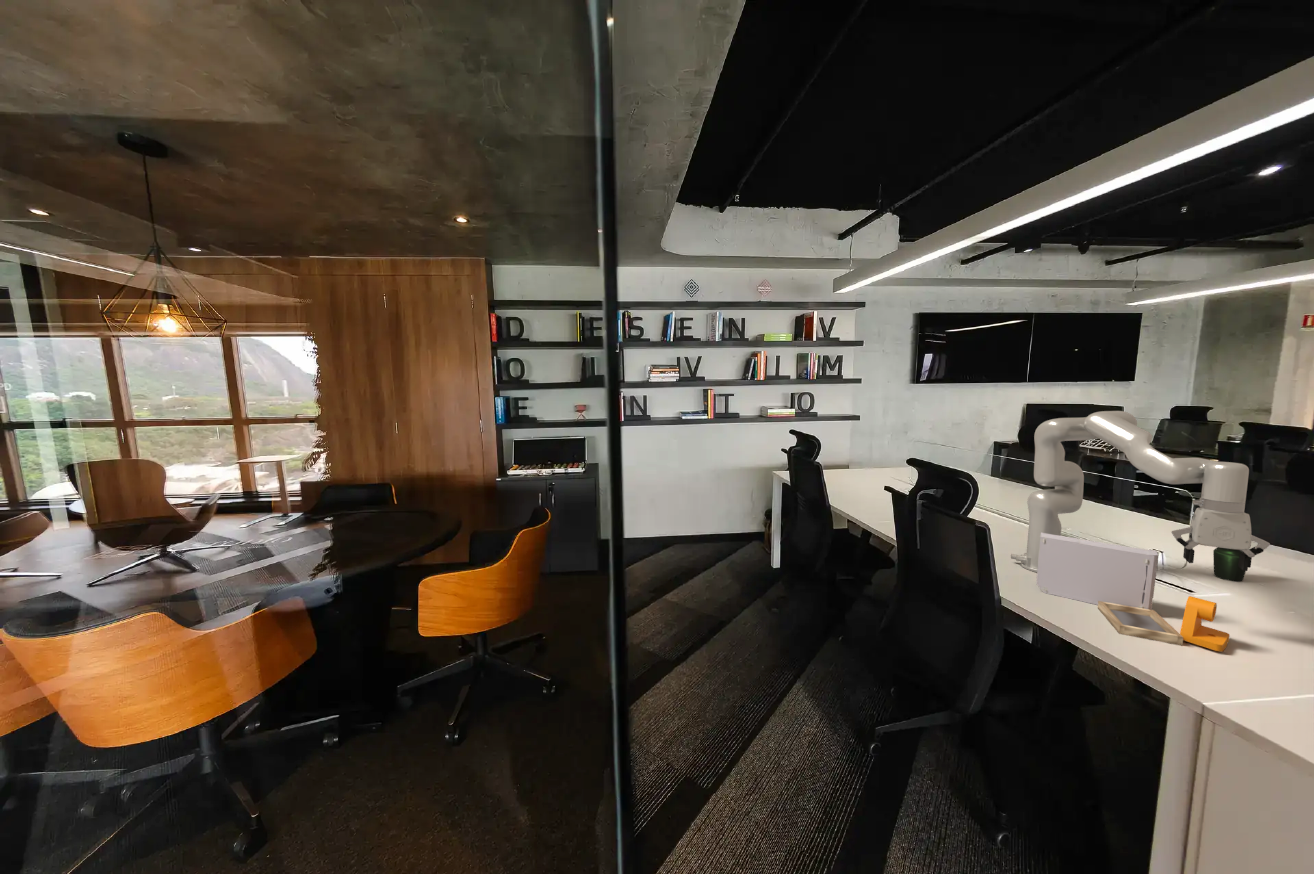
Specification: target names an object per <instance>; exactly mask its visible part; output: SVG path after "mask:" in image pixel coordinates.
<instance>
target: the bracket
mask: <svg viewBox="0 0 1314 874" xmlns="http://www.w3.org/2000/svg"><path fill="white" fill-rule="evenodd" d="M1217 604H1218V603H1217V602H1214V601H1210V600H1207V599H1203V598H1198V597H1194V596H1191V595H1189V596H1188V597H1187V599H1186V602H1185V607H1184V612H1183V617H1182V621H1181V627H1180V631H1179V634H1180V635H1181V636H1182V637H1183V642H1187V643H1191V644H1193V645H1197V646H1200V647H1204V648H1207V649H1209V650H1213V651H1215V652H1222V653H1223V652H1224V651H1225V650H1226V648H1227V647H1228V643H1229V641H1230V636H1231V635H1230V633H1228V632H1225V631H1222V630H1219V629H1215V628H1213V627H1208V626H1205V625H1203V624H1202V622H1203V621H1207V622H1211V623H1213V622H1214V621H1215V618H1216V613H1217V606H1218V605H1217Z"/></svg>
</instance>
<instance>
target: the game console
mask: <svg viewBox="0 0 1314 874" xmlns="http://www.w3.org/2000/svg"><path fill="white" fill-rule="evenodd" d="M1158 558H1159V554H1158V551H1157V550H1152V549H1145V548H1140V547H1139V548H1138V547H1132V546H1128V545H1120V544H1114V543H1108V542H1101V541H1094V540H1091V539H1090V540H1087V539H1083V538H1078V537H1077V538H1076V537H1070V536H1065V535H1061V536H1059V535H1052V534H1046V533H1041V536H1040V548H1039V559H1038V571H1037V572H1036V582H1035V583H1036V585H1037V587H1038V588H1039V589H1040V591H1042V592H1043V593H1044V594H1048V595H1052V596H1057V597H1062V598H1064V599H1065V598H1066V599H1071V600H1075V601H1079V602H1083V603H1088V604H1092V605H1096V606H1098V601H1102V602H1108V603H1114V604H1119V605H1125V606H1131V607H1137V608H1143V609H1149V610H1153V598H1154V595H1155V593H1154V592H1155V586H1156V577H1157V569H1158V564H1159V560H1158Z"/></svg>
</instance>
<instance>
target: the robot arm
mask: <svg viewBox="0 0 1314 874" xmlns="http://www.w3.org/2000/svg"><path fill="white" fill-rule="evenodd" d="M1033 435H1034V436H1033V437H1034V440H1033V441H1034V464H1033V479H1034V481H1035V483H1036V484H1037V485H1039V486H1042V487H1051V488H1052V487H1054V488H1052V489H1050V488H1049V489H1039V490H1035V491H1033V492H1032V493H1030V494H1029V495H1028V497H1027V502H1026V503H1027V509H1028V529H1027V530H1028V532H1027V545H1026V552H1024V553H1023V554H1014V553H1013V554H1012V553H1011V554H1010V559H1011V560H1015V561H1016V562H1020V566H1021V567H1022V568H1024V569H1026V570H1028V571H1031V572H1034V573H1037V571H1038V559H1039V548H1040V536H1041V533H1046V534H1052V535H1059V536H1062V528H1063V527H1062V523H1061V520H1060V518H1059V515H1064V514H1071V513H1075V512H1076V513H1077V511H1079V510H1080V509H1081V507H1082V505H1083V500H1084V499H1083V498H1084V483H1085V476H1084V474H1085V473H1084V472H1083V470H1082V467H1081V466H1080V465H1079V464H1077V463H1075V462H1073V461H1069V460H1065V456H1066V450H1065V449H1064V446H1063V444H1062V442H1065V441H1066V442H1068V441H1069V442H1071V441H1089V440H1090V441H1091V440H1097V439H1099V440H1101V441H1103V442H1105V443H1107V444H1109V445H1111V446H1112V447H1114V448H1115V449H1117V450H1119V451H1121V452H1123V453H1124V454H1125V457H1126V459H1127V460H1128V461H1129V463H1130V464H1131V465H1132V466H1133V467H1135V468H1136V469H1137V470H1138V471H1141V472H1142V473H1144V474H1145V475H1147V476H1149V477H1151V478H1152V479H1155V480H1156V481H1158V482H1161V483H1163V484H1169V485H1184V484H1185V485H1186V484H1202V486H1201V495H1200V496H1201V497H1199V499H1193V500H1192V504H1193V505H1194V506H1199V507H1197V508H1196V509H1195V511H1194V513H1193V515H1192V519H1191V523H1190V526H1189V527H1188V526H1187V527H1184V528H1179V529H1174V530H1171V531H1170V532H1171V534H1172V536H1173V537H1174V539H1175V540H1176V541H1177V542H1178V543H1179V544H1180V545H1181V546H1182V547H1183V555H1182V556H1183V559H1185V561H1186V562H1188V563H1189V564H1194V560H1195V549H1194V548H1195V547H1198V545H1200V546H1205V547H1212V548H1213V547H1214V548H1217V547H1219V548H1228V549H1236V550H1241V551H1242V554H1240V555H1239V563H1238V567H1239V568H1241V569H1242V570H1244V571H1246V572H1247V571H1248V570H1249V569H1250V568H1251V567H1252V558H1254V557H1255V556H1257V555H1259V554H1261V553H1263V552H1264V551H1265V550H1266V549H1268V547H1270V546H1271V543H1270V542H1268V541H1266V540H1264V539H1262V538H1259V537H1257V536H1255V535H1252V523H1251V517H1250V514H1249V513H1246V512H1245V508H1246V500H1247V491H1248V483H1249V474H1250V469H1249V467H1248V466H1247V465H1246V464H1244V463H1240V462H1231V461H1230V462H1229V461H1217V460H1211V459H1206V458H1201V457H1175V458H1174V457H1170V456H1168V455H1167V454H1164V453H1163V452H1161V451H1159V450H1157V449H1155V448H1154V447H1153V446H1152V445H1150V443H1151V442H1152V439H1153V435H1152V434H1151V433H1150V432H1149V431H1147V430H1145V429H1144V428H1141V427H1139V426H1138V421H1137V418H1136V417H1135V416H1134V415H1133V414H1131V413H1130V412H1126V411H1123V410H1104V411H1103V410H1102V411H1096V412H1093V413H1090V414H1088V416H1085V417H1058V418H1052V419H1049V420H1048V419H1047V420H1045V421H1043V422H1042V423H1040V424H1039V425H1038V426H1037V428H1036V429H1035V432H1034V434H1033ZM1186 534H1188V537H1189V538H1188V539H1187V540H1184V539H1183V537H1182V535H1186ZM1252 542H1255V543H1257V544H1256V545H1255V546H1253V547H1251V546H1252ZM1248 568H1249V569H1248Z"/></svg>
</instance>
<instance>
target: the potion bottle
mask: <svg viewBox="0 0 1314 874" xmlns="http://www.w3.org/2000/svg"><path fill="white" fill-rule="evenodd" d="M1212 553H1213V557H1212V558H1213V575H1214V576H1215V577H1216V578H1219V579H1221V580H1224V581H1231V582H1237V583H1239V582H1242V581H1244V579H1245V578H1244V577H1245V575H1246V572H1247V571H1244V570H1242V569H1241V568H1239V567H1238V563H1239V555H1240V554H1242V551H1241V550H1236V549H1228V548H1219V547H1215V548H1214V549H1213V551H1212Z"/></svg>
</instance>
